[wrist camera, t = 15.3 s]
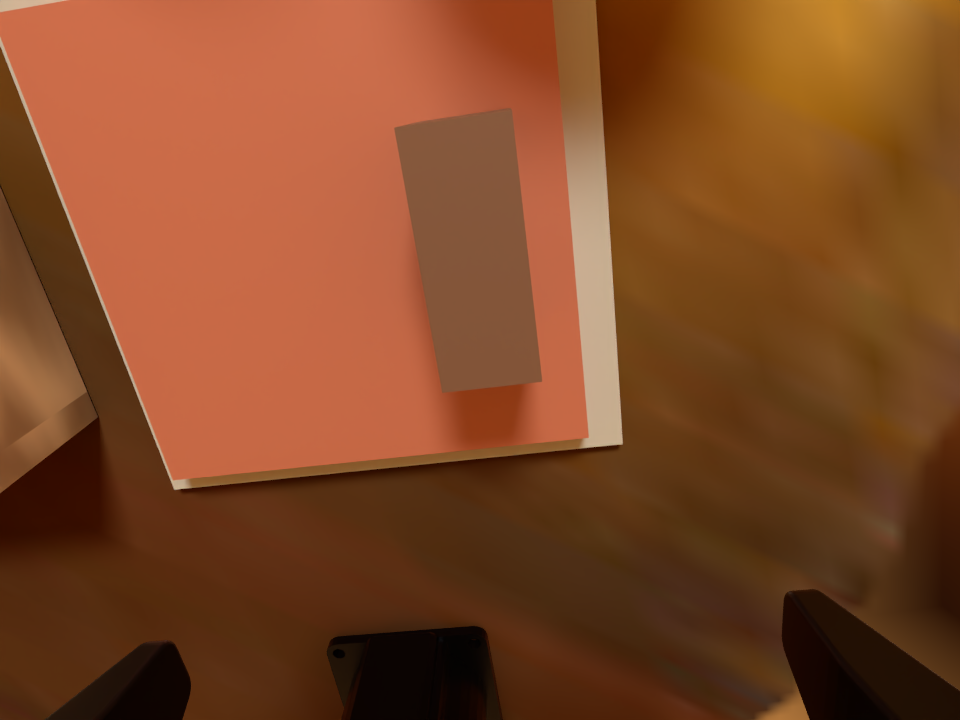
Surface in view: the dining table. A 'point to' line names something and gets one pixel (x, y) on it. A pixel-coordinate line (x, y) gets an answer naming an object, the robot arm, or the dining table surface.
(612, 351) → the mat
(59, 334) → the toolbox
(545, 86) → the lid
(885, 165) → the dining table surface
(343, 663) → the robot arm
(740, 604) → the dining table surface
